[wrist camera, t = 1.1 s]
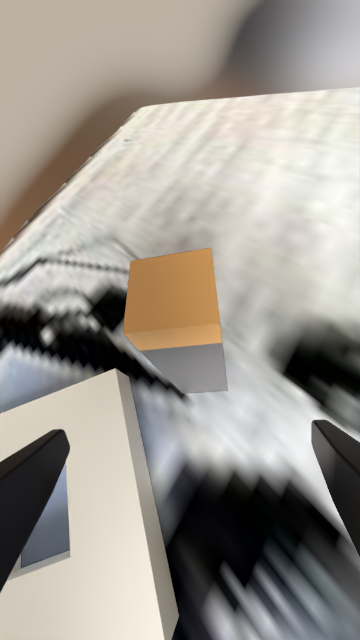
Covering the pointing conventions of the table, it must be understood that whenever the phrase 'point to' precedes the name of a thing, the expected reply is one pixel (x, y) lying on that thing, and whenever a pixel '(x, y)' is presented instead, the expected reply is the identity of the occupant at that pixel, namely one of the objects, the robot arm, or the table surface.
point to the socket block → (93, 525)
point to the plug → (177, 319)
